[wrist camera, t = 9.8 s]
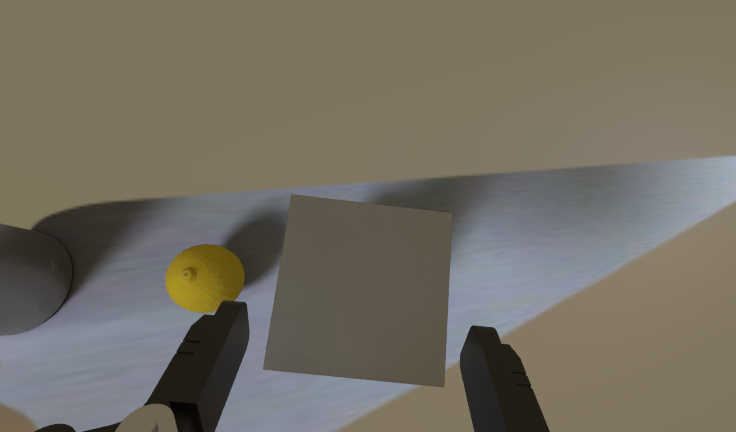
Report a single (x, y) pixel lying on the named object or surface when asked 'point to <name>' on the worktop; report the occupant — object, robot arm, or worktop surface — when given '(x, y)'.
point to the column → (362, 292)
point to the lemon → (204, 278)
